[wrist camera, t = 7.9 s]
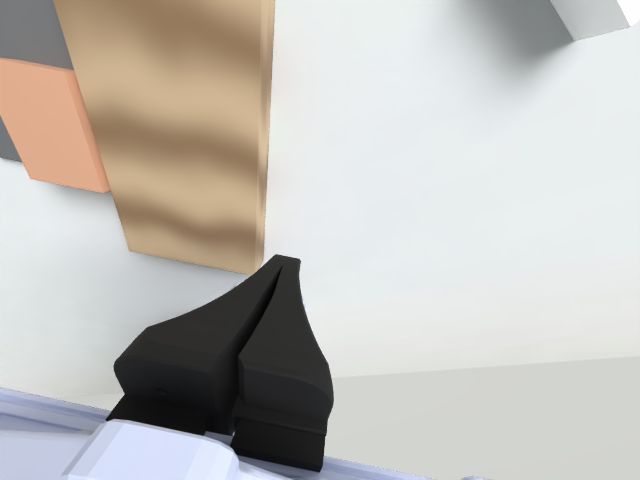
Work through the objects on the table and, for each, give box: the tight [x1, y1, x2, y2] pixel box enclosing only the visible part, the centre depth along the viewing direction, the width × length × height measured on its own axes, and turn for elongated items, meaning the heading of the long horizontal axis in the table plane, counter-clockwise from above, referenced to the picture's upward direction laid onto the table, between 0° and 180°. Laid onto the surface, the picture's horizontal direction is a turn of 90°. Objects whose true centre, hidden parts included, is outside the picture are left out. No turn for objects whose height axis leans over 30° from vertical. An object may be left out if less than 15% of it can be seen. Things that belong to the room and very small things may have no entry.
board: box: [53, 0, 275, 275], centre depth 18 cm, size 20×12×2 cm, turn 171°
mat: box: [0, 0, 74, 161], centre depth 18 cm, size 14×12×1 cm
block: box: [0, 58, 111, 193], centre depth 18 cm, size 8×6×2 cm
